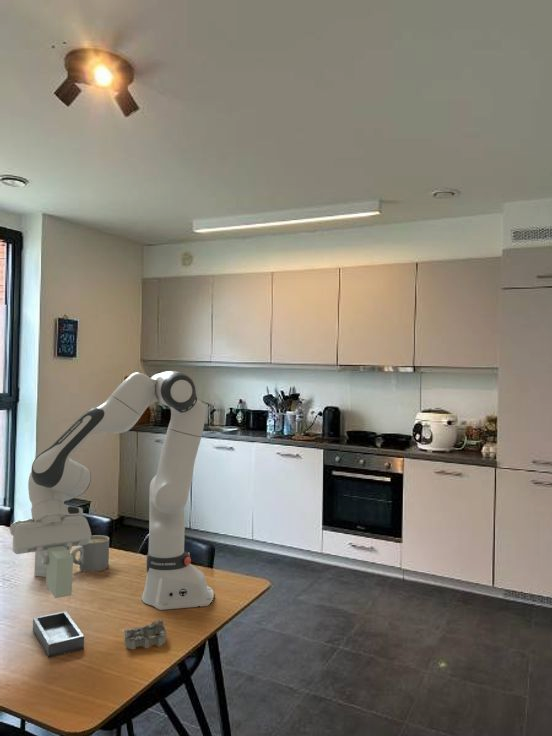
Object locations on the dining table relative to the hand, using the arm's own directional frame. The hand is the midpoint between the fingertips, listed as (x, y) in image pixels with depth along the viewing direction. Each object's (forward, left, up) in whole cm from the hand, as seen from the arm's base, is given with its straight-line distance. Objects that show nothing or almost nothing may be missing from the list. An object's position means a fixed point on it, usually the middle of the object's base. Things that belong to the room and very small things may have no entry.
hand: (56, 562), depth 149 cm
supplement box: (+15, -46, -19) cm, 52 cm away
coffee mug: (+3, -52, -19) cm, 56 cm away
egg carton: (-25, +5, -20) cm, 32 cm away
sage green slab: (-2, +3, -6) cm, 7 cm away
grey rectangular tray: (-2, +3, -19) cm, 20 cm away
